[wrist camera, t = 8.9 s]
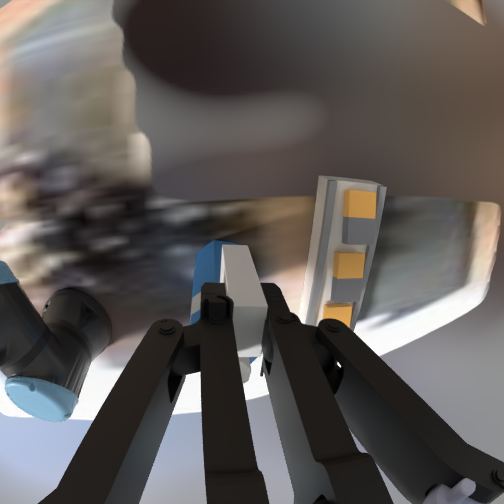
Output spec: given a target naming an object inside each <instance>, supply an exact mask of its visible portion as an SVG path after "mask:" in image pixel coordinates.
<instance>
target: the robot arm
mask: <svg viewBox="0 0 504 504" xmlns="http://www.w3.org/2000/svg"><path fill="white" fill-rule="evenodd" d="M111 333H112V328H111V323H110V320H109V317H108V315H107V314H106V312H105V310H104V309H103V308H102V307H101V306H100V304H99V303H98V302H96V301H95V300H94V299H93V298H91V297H90V296H88V295H86V294H85V293H82V292H80V291H77V290H72V289H64V290H59V291H57V292H55V293H54V294H53V295H51V297H50V298H49V299H48V301H47V302H46V304H45V306H44V308H43V313H42V317H41V316H40V315H39V313H38V312H37V310H36V309H35V307H34V306H33V304H32V303H31V301H30V300H29V298H28V296H27V295H26V293H25V292H24V290H23V289H22V287H21V285H20V284H19V280H18V279H16V278H15V276H14V274H13V273H12V271H11V270H10V268H9V267H8V265H7V264H6V263H5V262H3V261H0V370H1V371H2V372H3V374H4V375H5V376H6V377H7V380H6V381H5V391H6V393H7V396H8V397H9V398H10V400H11V401H12V402H13V403H14V404H15V405H16V406H18V407H19V408H20V409H22V410H23V411H25V412H26V413H28V414H30V415H32V416H34V417H36V418H39V419H42V420H45V421H50V422H62V421H65V420H67V419H68V418H69V417H70V416H71V415H72V412H73V410H74V408H75V406H76V404H77V403H78V398H79V395H80V392H81V389H82V386H83V383H84V380H85V378H86V375H87V372H88V369H89V367H90V364H91V362H92V361H93V360H94V359H95V358H96V357H97V356H98V355H99V354H100V353H102V352H103V351H104V350H105V348H106V347H107V345H108V343H109V340H110V338H111ZM261 349H262V351H263V361H262V367H261V373H260V376H263V372H264V374H265V378H266V382H267V386H268V390H269V395H270V399H271V403H272V407H273V411H274V415H275V419H276V423H277V427H278V431H279V436H280V440H281V444H282V448H283V452H284V456H285V460H286V464H287V467H288V471H289V475H290V479H291V483H292V487H293V491H294V504H394V503H393V501H392V499H391V497H390V494H389V492H388V490H387V487H386V485H385V483H384V481H383V479H382V476H381V474H380V472H379V470H378V467H377V465H378V466H379V467H380V469H381V470H382V471H383V472H384V473H385V475H386V476H387V477H388V478H389V480H390V481H391V482H392V483H393V484H394V486H395V487H396V488H397V489H398V491H399V492H400V493H401V494H402V495H403V496H404V497H405V498H407V500H409V501H410V502H411V503H412V504H490V503H491V502H492V501H493V500H495V499H496V498H497V497H499V496H500V495H501V494H502V493H504V462H502V461H500V460H498V459H496V458H494V457H492V456H490V455H488V454H486V453H484V452H482V451H480V450H478V449H477V448H475V447H473V446H471V445H469V444H467V443H466V442H465V441H464V440H463V439H462V438H461V437H460V436H459V435H458V434H457V433H456V432H455V431H454V430H453V429H452V428H451V427H450V426H449V425H448V424H447V423H446V422H445V421H444V420H443V419H442V418H441V417H440V416H439V415H438V414H437V413H436V412H435V411H434V410H433V409H432V408H431V407H430V406H429V405H428V404H427V403H426V402H425V401H424V400H423V399H422V398H421V397H420V396H419V395H417V393H415V391H414V390H413V389H411V387H409V386H408V385H407V384H406V383H405V382H404V381H403V380H402V379H401V378H400V377H399V376H398V375H397V374H396V373H395V372H394V371H393V370H392V369H391V368H390V367H389V366H388V365H387V364H386V363H385V362H384V361H383V360H382V359H381V358H380V357H379V356H378V355H377V354H376V353H375V352H374V351H373V350H372V349H371V348H370V347H368V346H367V345H366V344H365V343H364V342H363V341H362V340H361V339H360V338H359V337H358V336H357V335H356V334H355V333H354V332H353V331H352V330H351V329H350V328H349V327H348V326H347V325H346V324H344V323H343V322H342V321H339V320H337V319H333V318H326V319H323V320H321V321H320V322H319V323H318V326H312V325H307V324H303V323H301V321H300V319H299V317H298V316H297V315H295V314H294V313H292V312H290V310H289V308H288V306H287V303H286V301H285V299H284V296H283V295H282V292H281V289H280V288H279V287H278V286H277V285H276V284H274V283H260V281H259V278H258V275H257V272H256V269H255V266H254V263H253V260H252V257H251V254H250V251H249V248H248V245H223V244H222V257H221V274H220V283H214V282H205V283H204V284H203V285H202V287H201V302H200V318H199V320H198V321H197V322H196V323H194V324H192V325H189V326H184V327H183V326H182V324H181V323H179V322H178V321H175V320H172V319H163V320H159V321H156V322H154V323H153V324H152V325H151V327H150V328H149V330H148V331H147V333H146V335H145V336H144V338H143V339H142V341H141V343H140V344H139V346H138V347H137V349H136V351H135V352H134V354H133V355H132V357H131V359H130V360H129V362H128V363H127V365H126V367H125V368H124V370H123V372H122V373H121V375H120V377H119V378H118V380H117V382H116V383H115V385H114V387H113V388H112V390H111V392H110V393H109V395H108V397H107V398H106V400H105V402H104V403H103V405H102V407H101V409H100V410H99V412H98V414H97V415H96V417H95V419H94V421H93V423H92V424H91V426H90V428H89V430H88V431H87V433H86V435H85V437H84V439H83V440H82V442H81V444H80V446H79V447H78V449H77V451H76V453H75V455H74V456H73V458H72V460H71V462H70V464H69V466H68V468H67V469H66V471H65V473H64V475H63V477H62V479H61V481H60V483H59V485H58V487H57V488H56V489H55V490H54V491H53V492H52V493H50V494H49V495H48V496H47V497H45V498H44V499H43V500H42V501H40V502H39V503H38V504H139V502H140V499H141V496H142V493H143V491H144V488H145V485H146V482H147V480H148V477H149V474H150V471H151V469H152V466H153V463H154V461H155V458H156V455H157V452H158V450H159V447H160V444H161V442H162V439H163V436H164V434H165V431H166V428H167V425H168V423H169V420H170V418H171V415H172V412H173V410H174V407H175V404H176V402H177V399H178V397H179V394H180V391H181V389H182V386H183V383H184V381H185V378H186V375H187V374H192V373H196V372H200V371H201V409H202V433H203V453H204V469H205V485H206V497H207V504H269V500H268V495H267V490H266V486H265V481H264V477H263V474H262V472H261V471H260V470H259V469H258V466H257V462H256V456H255V451H254V446H253V441H252V435H251V429H250V423H249V418H248V412H247V406H246V400H245V394H244V388H243V382H242V376H241V370H240V364H239V358H238V357H260V356H261ZM337 362H339V364H340V365H341V368H340V367H339V366H338V365H337ZM349 429H350V430H349ZM350 431H351V432H352V433H353V434H354V436H355V437H356V438H357V439H358V441H359V442H360V443H361V444H362V446H363V447H364V448H365V450H366V451H367V452H368V453H369V454H368V453H361V452H360V451H359V450H358V448H357V447H356V444H355V442H354V440H353V437H352V435H351V433H350ZM375 462H376V463H375ZM376 464H377V465H376Z"/></svg>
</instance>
